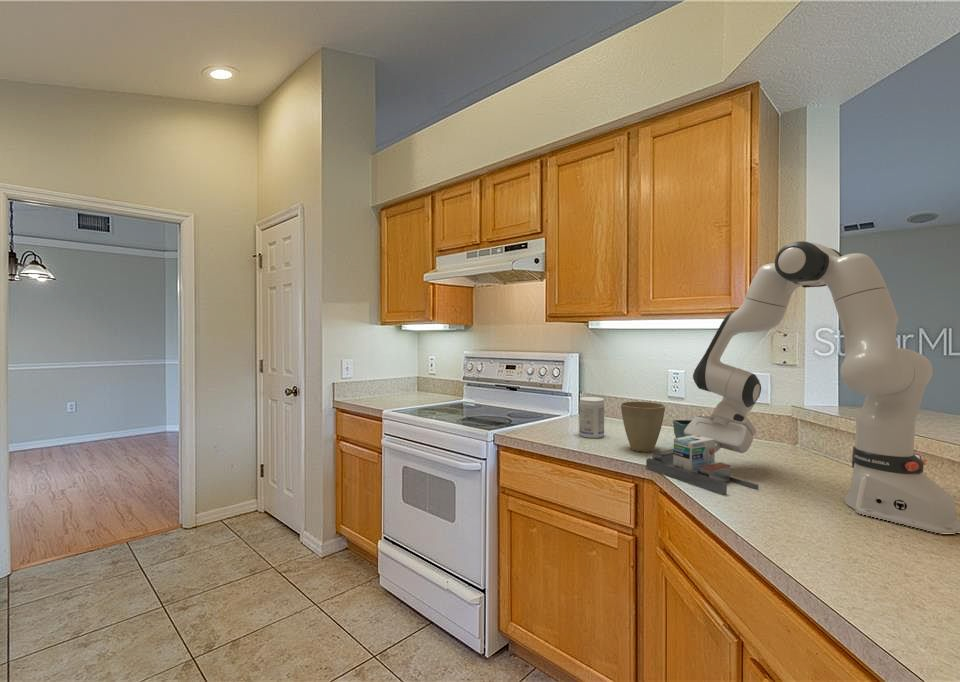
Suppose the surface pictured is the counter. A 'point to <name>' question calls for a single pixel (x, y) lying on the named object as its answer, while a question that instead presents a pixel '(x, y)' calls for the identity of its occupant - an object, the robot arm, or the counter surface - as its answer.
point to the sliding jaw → (716, 471)
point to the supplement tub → (591, 417)
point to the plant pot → (642, 424)
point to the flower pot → (680, 427)
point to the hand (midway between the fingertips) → (704, 455)
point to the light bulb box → (693, 452)
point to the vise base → (689, 473)
